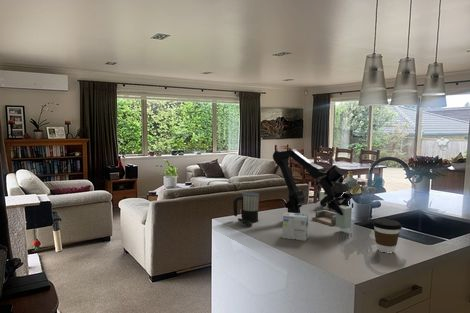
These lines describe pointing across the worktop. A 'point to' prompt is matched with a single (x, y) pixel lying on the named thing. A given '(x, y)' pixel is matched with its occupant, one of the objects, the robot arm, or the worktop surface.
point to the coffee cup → (386, 234)
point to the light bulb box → (295, 226)
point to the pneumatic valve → (320, 196)
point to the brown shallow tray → (325, 217)
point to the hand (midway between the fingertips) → (346, 214)
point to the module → (344, 217)
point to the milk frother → (247, 207)
